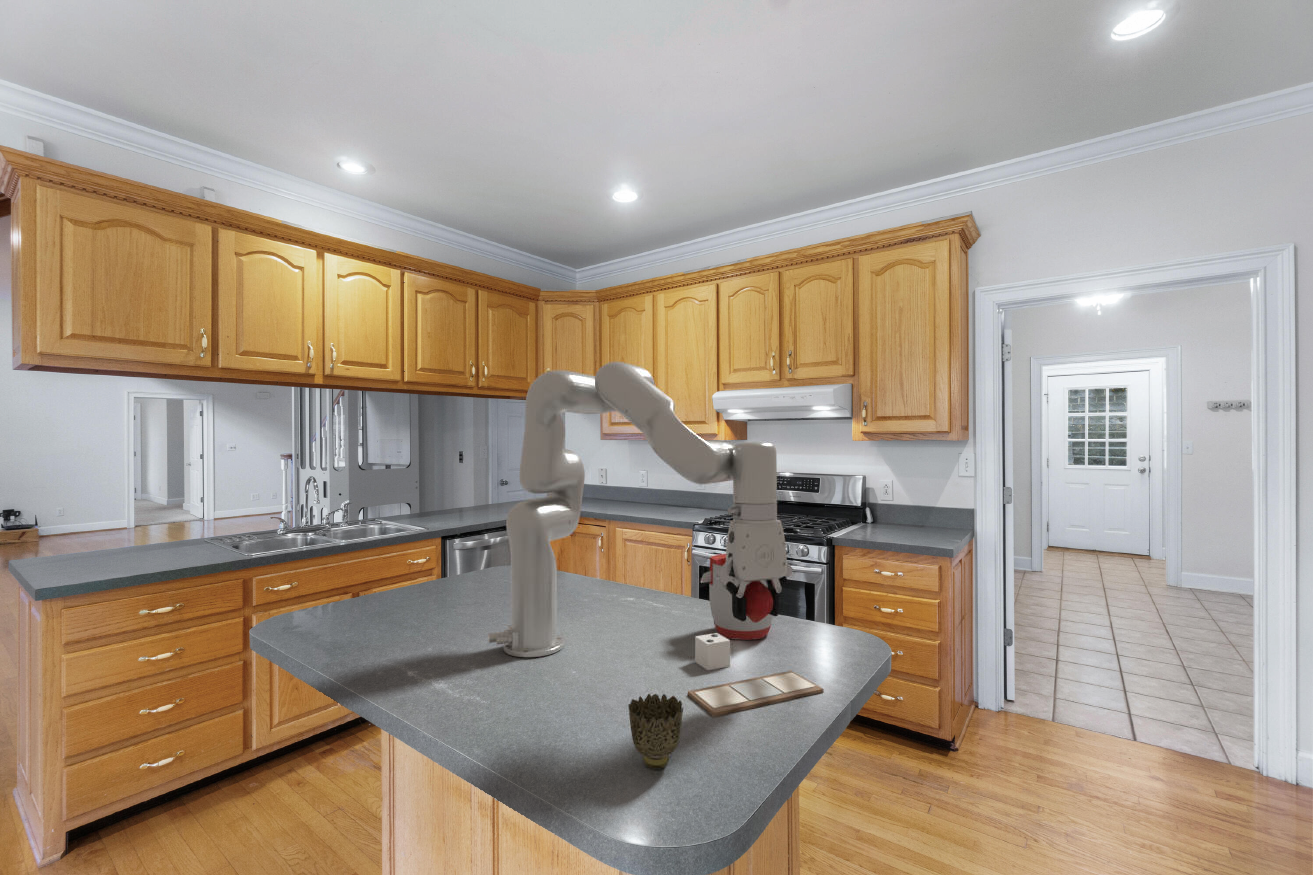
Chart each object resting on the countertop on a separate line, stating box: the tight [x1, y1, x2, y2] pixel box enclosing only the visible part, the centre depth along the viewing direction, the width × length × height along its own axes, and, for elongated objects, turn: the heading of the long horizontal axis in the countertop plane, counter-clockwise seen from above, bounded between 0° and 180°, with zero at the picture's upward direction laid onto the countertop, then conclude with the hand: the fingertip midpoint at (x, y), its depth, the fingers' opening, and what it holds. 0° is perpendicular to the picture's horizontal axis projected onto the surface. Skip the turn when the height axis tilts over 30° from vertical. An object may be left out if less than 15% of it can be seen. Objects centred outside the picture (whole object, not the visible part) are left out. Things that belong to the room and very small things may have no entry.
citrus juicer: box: [700, 553, 774, 641], centre depth 133 cm, size 16×17×20 cm
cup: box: [628, 693, 684, 770], centre depth 78 cm, size 8×7×8 cm
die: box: [694, 632, 731, 671], centre depth 114 cm, size 5×5×5 cm
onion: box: [743, 581, 773, 623], centre depth 100 cm, size 6×6×8 cm
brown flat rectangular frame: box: [687, 670, 825, 717], centre depth 100 cm, size 22×9×1 cm, turn 114°
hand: (755, 615), depth 100 cm, fingers closed on onion, 5 cm apart
